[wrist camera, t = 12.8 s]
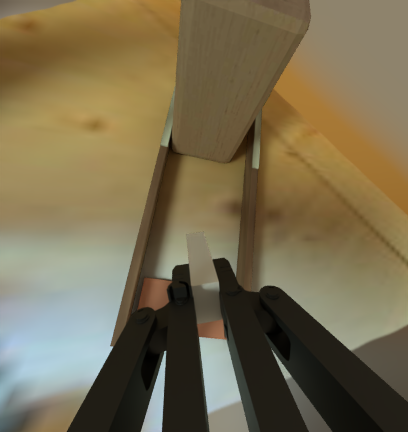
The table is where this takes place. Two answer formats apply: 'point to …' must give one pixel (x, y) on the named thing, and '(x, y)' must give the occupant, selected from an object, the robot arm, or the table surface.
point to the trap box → (152, 288)
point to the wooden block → (229, 69)
